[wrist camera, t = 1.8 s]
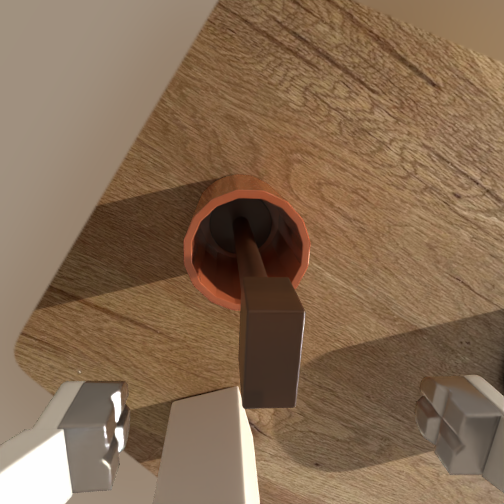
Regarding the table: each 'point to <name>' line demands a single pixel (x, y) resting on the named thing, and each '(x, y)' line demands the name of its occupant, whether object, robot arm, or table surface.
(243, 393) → the brown wooden masher
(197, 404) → the milk carton
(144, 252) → the table surface
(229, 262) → the crock
